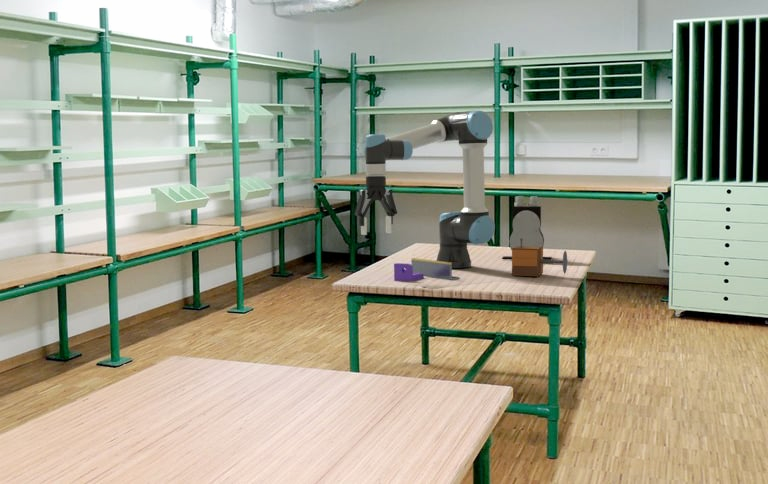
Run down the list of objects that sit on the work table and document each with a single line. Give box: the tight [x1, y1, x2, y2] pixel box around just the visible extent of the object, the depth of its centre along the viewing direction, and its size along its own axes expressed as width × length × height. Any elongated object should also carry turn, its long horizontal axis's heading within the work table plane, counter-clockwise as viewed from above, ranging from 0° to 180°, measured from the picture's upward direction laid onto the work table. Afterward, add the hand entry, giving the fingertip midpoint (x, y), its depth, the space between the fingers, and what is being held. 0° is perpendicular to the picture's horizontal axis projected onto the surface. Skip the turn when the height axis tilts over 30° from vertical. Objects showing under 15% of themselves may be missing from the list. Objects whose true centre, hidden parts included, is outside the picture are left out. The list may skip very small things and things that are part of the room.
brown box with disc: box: [511, 239, 568, 277], centre depth 342 cm, size 11×20×14 cm, turn 66°
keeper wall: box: [411, 257, 461, 281], centre depth 339 cm, size 5×24×7 cm, turn 36°
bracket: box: [393, 262, 425, 283], centre depth 332 cm, size 12×7×7 cm, turn 153°
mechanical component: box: [501, 195, 553, 260], centre depth 390 cm, size 22×21×30 cm
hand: (376, 234), depth 325 cm, fingers open, 11 cm apart
